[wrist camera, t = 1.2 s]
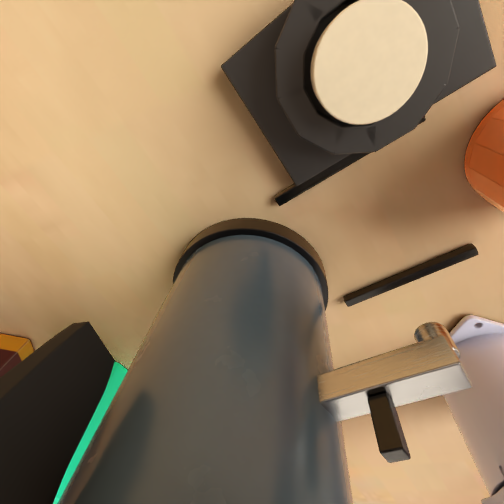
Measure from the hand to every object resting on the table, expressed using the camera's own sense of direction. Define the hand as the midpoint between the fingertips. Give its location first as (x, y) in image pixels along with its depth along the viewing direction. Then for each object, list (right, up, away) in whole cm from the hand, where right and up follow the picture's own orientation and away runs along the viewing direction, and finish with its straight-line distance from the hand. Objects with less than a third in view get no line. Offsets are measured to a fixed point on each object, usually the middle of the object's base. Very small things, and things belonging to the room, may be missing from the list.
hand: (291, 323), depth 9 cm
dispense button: (+3, +10, +3) cm, 11 cm away
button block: (+3, +11, +5) cm, 13 cm away
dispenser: (+2, +2, +11) cm, 12 cm away
